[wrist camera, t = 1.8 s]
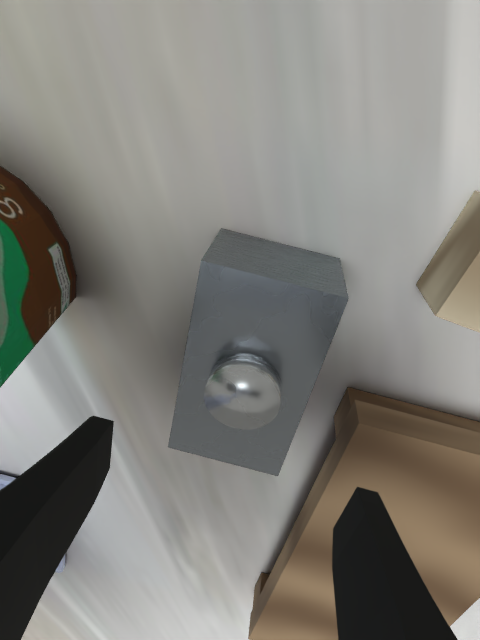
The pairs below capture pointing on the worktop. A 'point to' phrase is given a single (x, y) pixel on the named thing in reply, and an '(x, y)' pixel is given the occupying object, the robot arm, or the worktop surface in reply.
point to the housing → (254, 349)
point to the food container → (29, 272)
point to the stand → (401, 503)
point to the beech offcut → (457, 271)
